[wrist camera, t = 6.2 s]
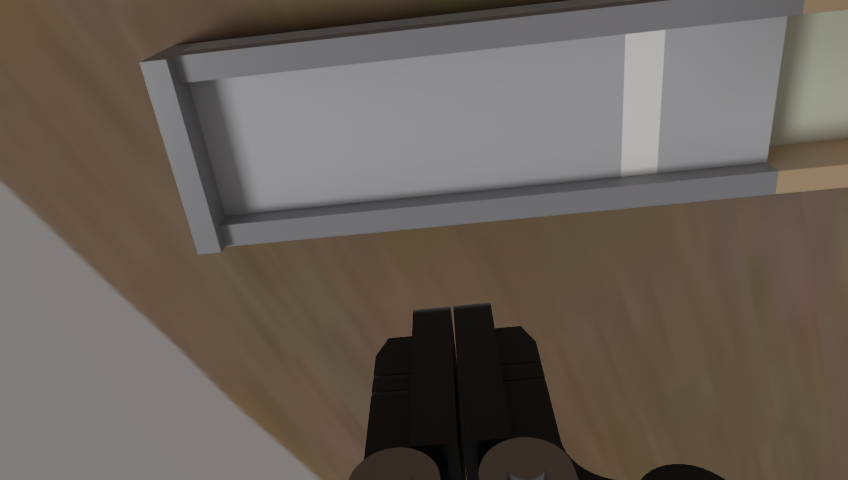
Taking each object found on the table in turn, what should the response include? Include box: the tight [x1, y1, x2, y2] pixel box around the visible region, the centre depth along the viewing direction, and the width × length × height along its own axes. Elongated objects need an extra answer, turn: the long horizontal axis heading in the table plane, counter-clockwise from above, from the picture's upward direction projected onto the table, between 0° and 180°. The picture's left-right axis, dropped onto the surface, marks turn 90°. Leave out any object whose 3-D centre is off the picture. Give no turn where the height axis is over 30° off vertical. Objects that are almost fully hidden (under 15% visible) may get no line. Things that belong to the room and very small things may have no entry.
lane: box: [139, 0, 848, 255], centre depth 25 cm, size 8×34×4 cm, turn 96°
